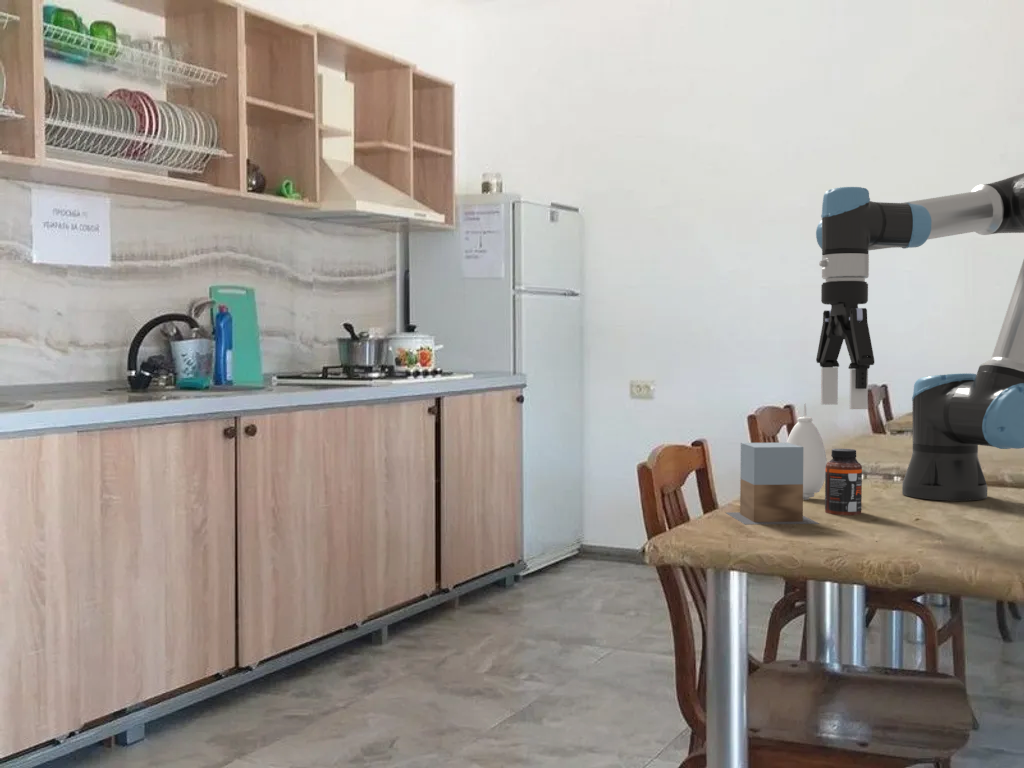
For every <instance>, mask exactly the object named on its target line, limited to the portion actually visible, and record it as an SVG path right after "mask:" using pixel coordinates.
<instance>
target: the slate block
mask: <svg viewBox="0 0 1024 768" xmlns="http://www.w3.org/2000/svg"><path fill="white" fill-rule="evenodd" d="M740 479H742V480H745V481H747V482H749V483H751V484H753V485H787V484H803V447H801V446H798V445H794V444H791V443H786V442H740Z"/></svg>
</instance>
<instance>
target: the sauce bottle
mask: <svg viewBox="0 0 1024 768" xmlns="http://www.w3.org/2000/svg"><path fill="white" fill-rule="evenodd" d="M785 443H791V444H794V445H798V446H801V447H803V501H804V500H805V501H806V500H810V498H813V497H815V494H816V493H819V492H820V491H821V489H822V487H823V486H824V484H825V469H826V464H827V463H828V461H827V454H826V453H827V452H826V448H825V445H824V441H823V439H822V437H821V434H820V432H819V430H818V428H817V426H816V425H815V424H814V423H813V418H812V417H809V416H807V404H806V403H804V405H803V416H800V417H797V422H796V424H795V425H794V426H793V427H792V429H791V431H790V433H789V435H788V437H787V440H786V442H785Z"/></svg>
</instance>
